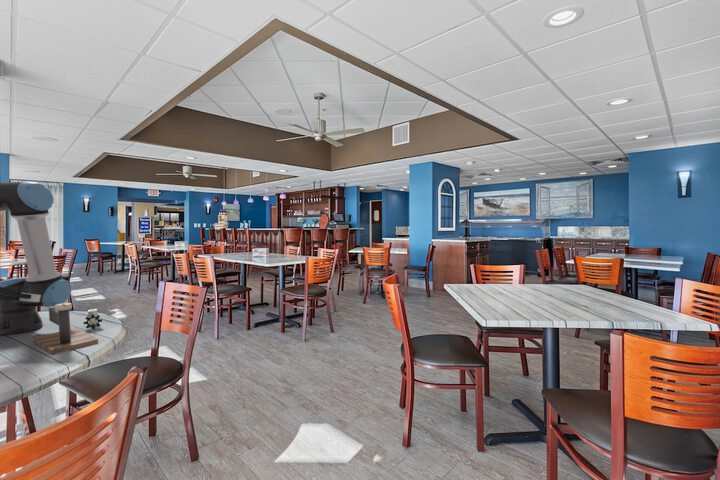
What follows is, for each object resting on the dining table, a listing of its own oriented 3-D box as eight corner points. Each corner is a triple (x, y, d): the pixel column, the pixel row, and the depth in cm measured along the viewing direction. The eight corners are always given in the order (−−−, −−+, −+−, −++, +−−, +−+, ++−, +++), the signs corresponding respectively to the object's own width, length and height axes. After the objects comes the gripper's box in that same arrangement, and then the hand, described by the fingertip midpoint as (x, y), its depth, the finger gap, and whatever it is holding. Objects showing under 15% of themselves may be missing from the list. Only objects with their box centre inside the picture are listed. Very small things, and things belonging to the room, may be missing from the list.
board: (33, 341, 136) (33, 336, 136) (77, 331, 148) (76, 327, 148) (52, 354, 122) (51, 349, 122) (98, 342, 134) (98, 338, 134)
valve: (84, 324, 159) (83, 330, 149) (83, 310, 158) (83, 316, 149) (101, 321, 163) (102, 327, 153) (101, 308, 162) (101, 313, 153)
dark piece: (44, 335, 138) (42, 298, 137) (60, 332, 142) (58, 296, 141) (62, 346, 125) (59, 306, 124) (78, 342, 129) (76, 303, 128)
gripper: (-61, 303, 114) (26, 311, 135) (-39, 296, 110) (47, 305, 131) (-54, 281, 117) (31, 292, 138) (-32, 273, 113) (51, 286, 134)
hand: (38, 298), depth 134 cm, fingers closed
